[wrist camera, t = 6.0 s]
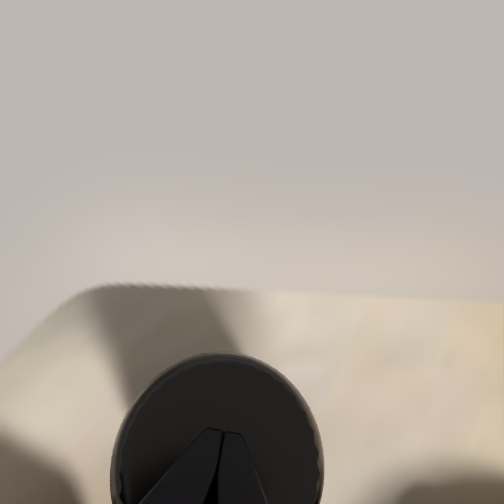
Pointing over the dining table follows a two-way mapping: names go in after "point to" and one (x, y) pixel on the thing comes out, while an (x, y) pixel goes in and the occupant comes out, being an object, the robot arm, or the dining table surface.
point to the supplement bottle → (220, 427)
